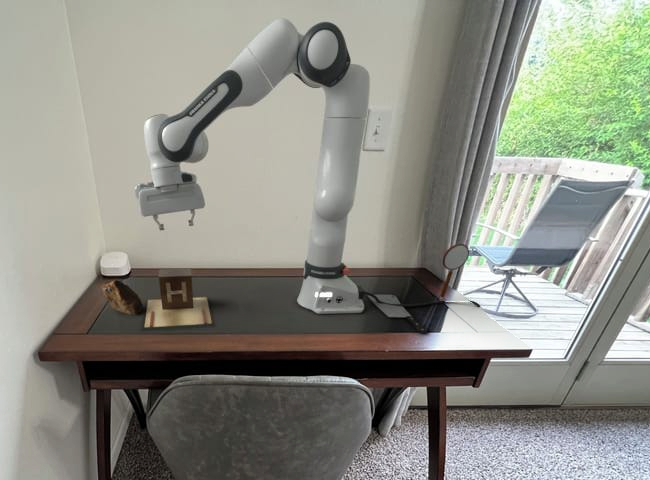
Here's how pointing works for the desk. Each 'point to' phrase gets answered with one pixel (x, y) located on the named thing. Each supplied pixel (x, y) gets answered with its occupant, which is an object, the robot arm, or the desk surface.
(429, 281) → the desk surface
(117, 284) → the decorative rock
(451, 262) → the magnifying glass
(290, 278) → the desk surface
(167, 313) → the game board
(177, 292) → the tall rectangular block
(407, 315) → the cleaver
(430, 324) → the desk surface
